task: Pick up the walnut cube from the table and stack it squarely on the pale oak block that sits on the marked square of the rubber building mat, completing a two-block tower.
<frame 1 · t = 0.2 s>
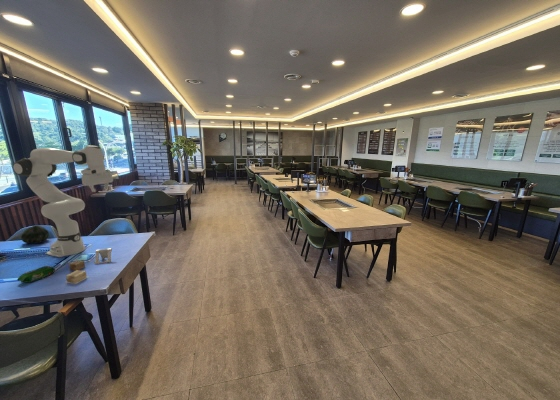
hand: (100, 190, 153), 47 cm above the table, fingers open, 8 cm apart
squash: (37, 242, 182), on the table
snack package: (37, 278, 132), on the table
portable electronic device stand: (104, 261, 153), on the table
walnut cube: (77, 269, 142), on the table
building mat: (76, 279, 131), on the table
oak base block: (77, 279, 130), point 1 cm above the table, touching building mat
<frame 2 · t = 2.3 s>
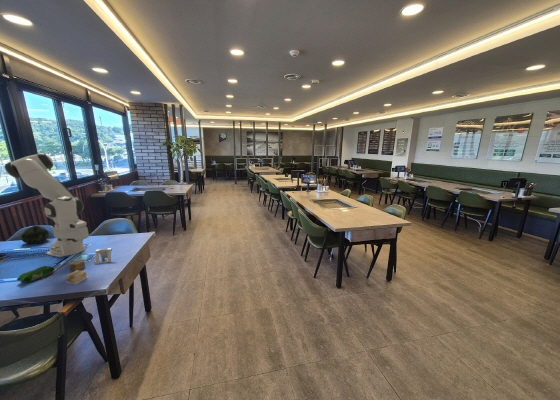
hand: (73, 244, 138), 17 cm above the table, fingers open, 8 cm apart
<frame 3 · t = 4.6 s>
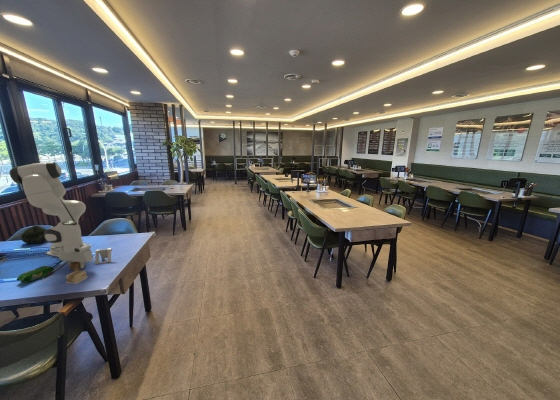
hand: (77, 267, 141), 2 cm above the table, fingers closed on walnut cube, 5 cm apart
walnut cube: (77, 269, 142), on the table, touching gripper
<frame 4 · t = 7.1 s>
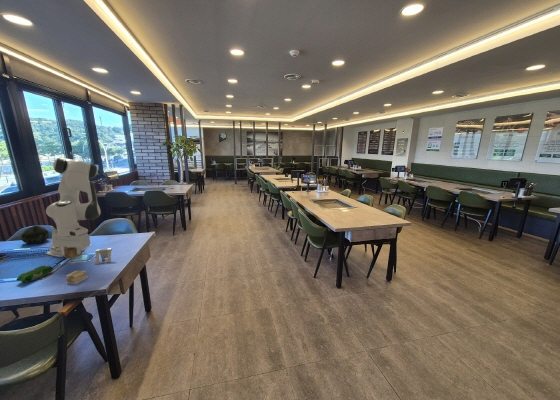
hand: (73, 253, 126), 17 cm above the table, fingers closed on walnut cube, 5 cm apart
walnut cube: (73, 256, 127), point 15 cm above the table, touching gripper
when the fingers open (7 cm above the table, at t = 9.5 s): walnut cube drops 1 cm, resting on oak base block.
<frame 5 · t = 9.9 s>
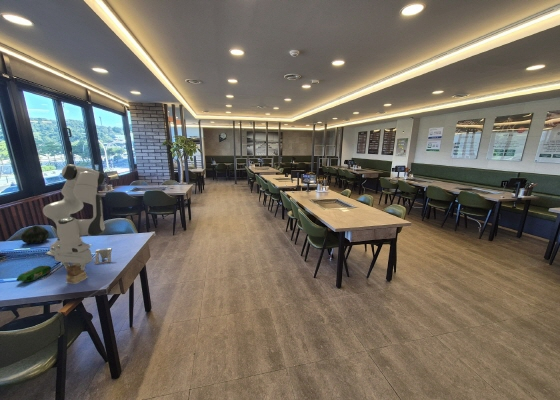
hand: (75, 268, 128), 7 cm above the table, fingers open, 8 cm apart
walnut cube: (76, 273, 129), point 5 cm above the table, touching oak base block
oak base block: (77, 279, 130), point 1 cm above the table, touching building mat, walnut cube
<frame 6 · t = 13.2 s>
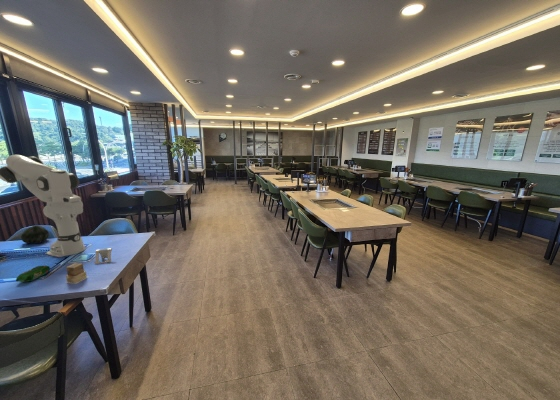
hand: (66, 220, 133), 33 cm above the table, fingers open, 8 cm apart
at the end: walnut cube 0.0 cm off-centre on the oak base block, point 4.0 cm above the oak base block's base; walnut cube tilted 0°; the gripper is holding nothing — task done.
